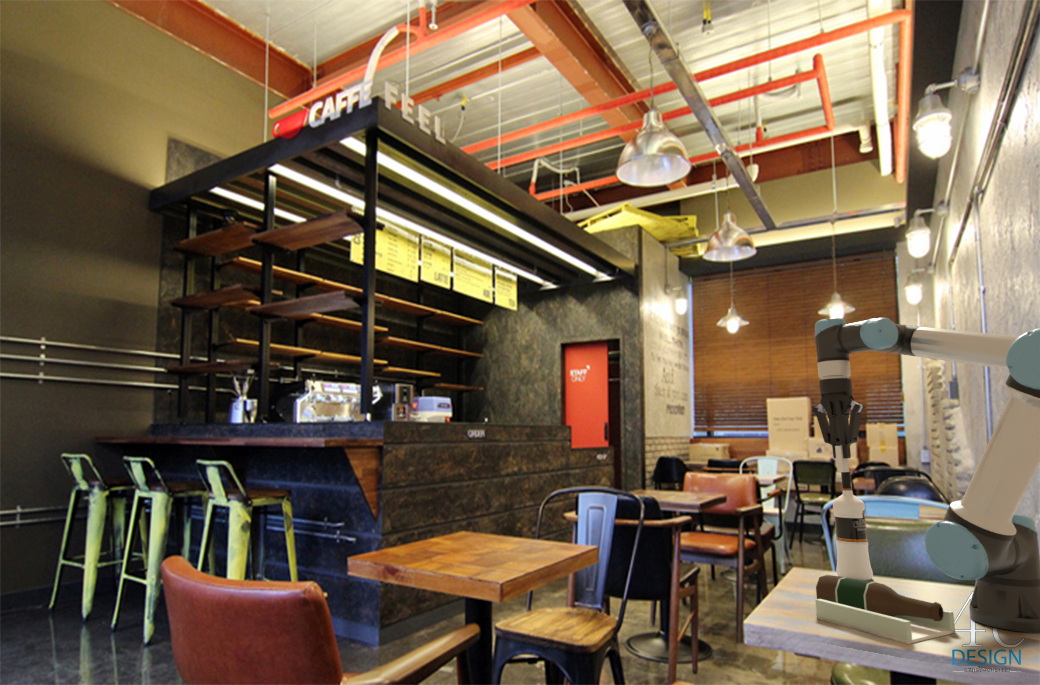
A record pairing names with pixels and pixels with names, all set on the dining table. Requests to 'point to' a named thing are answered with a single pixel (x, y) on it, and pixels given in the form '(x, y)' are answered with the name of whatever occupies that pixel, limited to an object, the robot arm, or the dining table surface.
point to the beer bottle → (874, 598)
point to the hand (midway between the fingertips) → (843, 471)
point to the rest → (885, 622)
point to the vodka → (851, 534)
